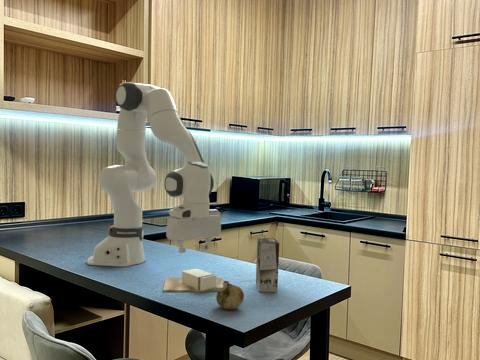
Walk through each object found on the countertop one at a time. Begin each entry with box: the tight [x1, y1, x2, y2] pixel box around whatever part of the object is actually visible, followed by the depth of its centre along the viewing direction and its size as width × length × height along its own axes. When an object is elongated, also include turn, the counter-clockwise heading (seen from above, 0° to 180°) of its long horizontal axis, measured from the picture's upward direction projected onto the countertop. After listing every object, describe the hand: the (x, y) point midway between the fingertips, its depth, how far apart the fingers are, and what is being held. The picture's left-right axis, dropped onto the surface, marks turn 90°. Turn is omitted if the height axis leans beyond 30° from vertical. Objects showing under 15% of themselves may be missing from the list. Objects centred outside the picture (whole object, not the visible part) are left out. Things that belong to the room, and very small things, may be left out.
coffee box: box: [255, 237, 280, 293], centre depth 143 cm, size 9×6×16 cm
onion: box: [215, 280, 245, 310], centre depth 123 cm, size 8×8×8 cm
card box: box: [181, 267, 217, 291], centre depth 142 cm, size 4×6×11 cm
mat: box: [162, 277, 225, 293], centre depth 144 cm, size 20×14×1 cm
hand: (193, 251), depth 144 cm, fingers open, 8 cm apart
